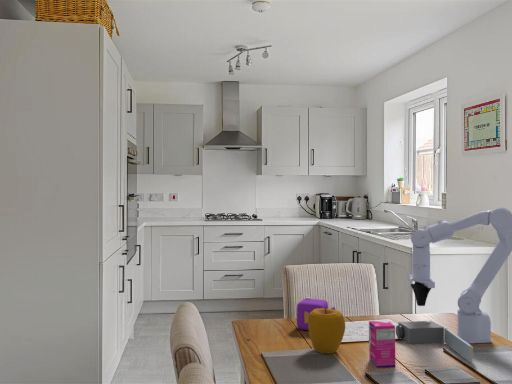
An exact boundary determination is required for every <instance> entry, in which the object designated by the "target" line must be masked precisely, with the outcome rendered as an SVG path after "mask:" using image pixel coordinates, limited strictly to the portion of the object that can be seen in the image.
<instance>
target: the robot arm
mask: <svg viewBox="0 0 512 384" xmlns="http://www.w3.org/2000/svg"><path fill="white" fill-rule="evenodd" d="M490 224H491V226H492V227H493V229H494V230H495V231H496V233H497V237H498V239H499V240H498V242H497V244H496V245H495V247H494V249H493V250H492V251H491V253H490V255H489V256H488V258H487V259H486V261H485V263H484V264H483V265H482V267H481V269H480V270H479V272H478V273H477V274H476V275H475V278H474V279H473V281H472V282H471V284H470V286H468V288H466V289H464V290H463V291H462V292H461V293H460V296H459V297H458V299H457V306H458V308H457V312H456V313H457V314H456V315H457V317H456V318H457V323H456V324H457V327H456V328H457V332H456V333H457V334H456V335H457V336H459V337H460V338H461V339H463V340H464V341H466V342H467V343H468V344H482V343H483V344H485V343H486V344H487V343H493V340H492V335H491V334H492V327H491V326H492V324H491V323H492V322H491V318H490V315H489V314H488V313H487V312H484V311H482V310H481V309H480V305H481V302H482V298H483V296H484V294H485V293H486V291H487V289H488V288H489V287H490V285H491V284H492V282H493V280H494V279H495V277H496V275H497V274H498V273H499V271H500V270H501V268H502V267H503V265H504V264H505V262H506V260H507V259H508V258H509V256H510V255H511V253H512V212H511V211H510V210H509V209H508V208H505V207H497V208H495V209H494V210H493V209H490V210H484V211H479V212H477V213H473V214H471V215H469V216H466V217H463V218H461V219H459V220H456V221H453V222H449V221H447V220H443V221H442V220H438V221H436V223H434V224H432V225H431V224H430V225H429V226H427V225H424V226H423V229H421V228H420V229H417V230H415V231H413V233H412V234H411V236H410V241H411V243H412V251H411V252H412V254H411V257H412V259H411V260H412V264H411V266H412V268H411V269H412V271H411V274H408V281H411V282H414V283H411V284H410V287H411V289H412V291H413V293H414V297H415V302H416V304H417V306H418V307H425V306H426V302H427V299H428V296H429V293H430V292H431V290H432V289H435V288H436V282H435V281H433V280H432V279H431V251H430V250H431V249H430V248H431V247H430V246H431V245H430V244H435V243H438V242H442V241H444V240H447V239H450V238H453V236H454V234H455V232H458V231H461V230H464V229H468V228H470V227H473V226H477V225H483V226H489V225H490Z"/></svg>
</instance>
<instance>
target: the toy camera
mask: <svg viewBox="0 0 512 384" xmlns="http://www.w3.org/2000/svg"><path fill="white" fill-rule="evenodd" d="M317 308H323V309H324V308H326V309H329V303H328V301H327V300H325V299H320V298H319V299H315V298H311V297H310V296H308V297H307V296H305V298H304V299H302V300H300V301H299V302H298V303H297V305H296V327H297V328H298V330H299V329H300V330H303V331H309V327H308V316H309V314H310V312H312V311H313V310H314V309H317ZM330 309H333V310H336V307H334V306H333V307H330Z"/></svg>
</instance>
